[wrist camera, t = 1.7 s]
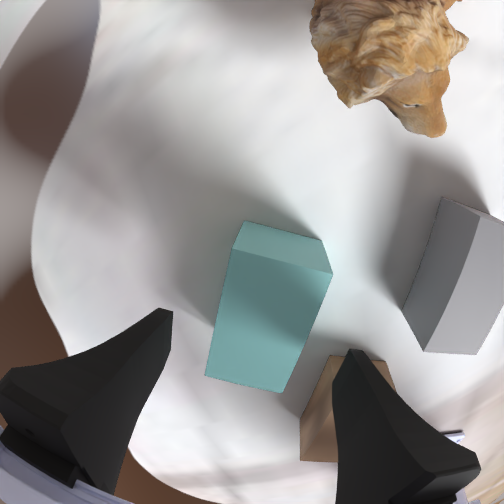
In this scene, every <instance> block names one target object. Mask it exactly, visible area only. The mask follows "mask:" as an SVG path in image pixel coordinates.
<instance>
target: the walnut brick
mask: <svg viewBox="0 0 504 504" xmlns="http://www.w3.org/2000/svg"><path fill="white" fill-rule="evenodd" d="M344 359H345V357H340V356H332V355H330V356H329V359H328V361H327V363H326V365H325V368H324V370H323V372H322V374H321V377H320V379H319V381H318V383H317V385H316V388H315V390H314V392H313V394H312V396H311V398H310V400H309V402H308V404H307V406H306V408H305V411H304V413H303V415H302V417H301V419H300V461H314V462H338V446H337V439H336V431H335V423H334V416H333V408H332V382H333V380H334V378H335V376H336V374H337V372H338V370H339V368H340V366H341V364H342V363H343V361H344ZM371 361H372V363H373V364H374V365H375V367H376V368H377V369H378V370H379V372H380V373H381V374H382V376H383V377H384V378H385V379H386V381H387V382H388V383H389V384H390V386H391V387H392V388H393V389H394V390H395V392H396V389H395V386H394V383H393V380H392V378H391V375H390V372H389V369H388V366H387V364H386V361H376V360H371ZM396 393H397V392H396Z"/></svg>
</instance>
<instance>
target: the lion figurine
mask: <svg viewBox="0 0 504 504" xmlns="http://www.w3.org/2000/svg"><path fill="white" fill-rule="evenodd" d="M455 1H462V0H315V4H314V7H313V9H312V11H311V12H312V16H313V18H312V19H311V20H310V26H309V27H310V32H311V35H312V40H311V43H312V45H313V47H314V48H315V49H316V51H317V52H318V62H319V63H320V65H321V67H322V69H323V73H324V74H325V75H327V76H328V80H329V82H330V83H331V84H332V86H333V87H334V88H335V89H336V90H337V96H338V98H339V99H340V100H341V101H342V102H343V103H344V104H345V105H346V106H347V107H348V108H351V107H352V106H353V105H358V104H361V103H365V102H368V101H370V100H372V99H377V100H380V101H381V102H383V103H384V104H385V105H386V106H387V107H388V109H389V110H390V111H391V112H392V113H393V114H394V115H395V116H396V117H397V118H399V119H400V121H401V123H402V125H403V126H404V127H405V129H407V130H408V131H410V132H412V133H416V134H422V135H426V136H428V137H430V138H435V137H439V136H442V135H443V134H444V133H445V131H446V127H447V122H446V119H445V116H444V112H443V108H442V102H441V97H442V95H443V94H444V93H445V91H446V90H447V87H448V85H449V82H450V76H449V71H448V65H449V64H450V60H451V59H452V58H453V56H455V55H456V54H457V53H458V52H461V51H463V50H464V49H465V48H466V44H468V41H469V38H468V37H467V36H465V35H464V34H463V33H461V32H459V31H457V30H455V29H454V28H453V26H452V25H451V24H450V23H449V21H448V18H447V16H446V14H445V11H446V10H448V9H449V8H450V7H451V6H452V5H453V3H454V2H455Z"/></svg>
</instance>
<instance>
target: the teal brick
mask: <svg viewBox="0 0 504 504" xmlns="http://www.w3.org/2000/svg"><path fill="white" fill-rule="evenodd" d="M332 276H333V272H332V269H331V266H330V263H329V260H328V257H327V254H326V251H325V248H324V246H323V243H322V241H321V240H317V239H313V238H310V237H306V236H302V235H298V234H295V233H291V232H287V231H283V230H279V229H276V228H272V227H268V226H264V225H260V224H256V223H252V222H248V221H244V222H243V224H242V227H241V229H240V231H239V233H238V236H237V238H236V240H235V242H234V244H233V247H232V250H231V254H230V259H229V263H228V268H227V272H226V277H225V281H224V286H223V290H222V295H221V299H220V304H219V309H218V313H217V318H216V323H215V327H214V332H213V337H212V342H211V347H210V351H209V356H208V361H207V366H206V371H205V376H208V377H212V378H216V379H220V380H224V381H228V382H232V383H236V384H240V385H244V386H249V387H253V388H258V389H263V390H267V391H272V392H277V393H283V390H284V388H285V386H286V384H287V382H288V380H289V378H290V376H291V374H292V371H293V369H294V367H295V365H296V363H297V360H298V358H299V356H300V354H301V351H302V349H303V347H304V345H305V342H306V340H307V338H308V335H309V333H310V331H311V328H312V326H313V324H314V321H315V319H316V316H317V314H318V312H319V309H320V307H321V304H322V302H323V299H324V297H325V294H326V292H327V289H328V286H329V284H330V281H331V279H332Z"/></svg>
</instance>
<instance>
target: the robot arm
mask: <svg viewBox="0 0 504 504" xmlns="http://www.w3.org/2000/svg"><path fill="white" fill-rule="evenodd" d="M172 321H173V311H169V310H166V309H162V308H158V309H156V310H154V311H153V312H151V313H150V314H149V315H147V316H146V317H144V318H143V319H141V320H140V321H138V322H137V323H136V324H134V325H132V326H131V327H129V328H128V329H126V330H125V331H123V332H122V333H120V334H118V335H116V336H115V337H113V338H111V339H109V340H108V341H106V342H104V343H102V344H100V345H98V346H96V347H94V348H91V349H89V350H87V351H84V352H82V353H79V354H76V355H73V356H70V357H67V358H64V359H61V360H57V361H53V362H49V363H44V364H39V365H34V366H25V367H16V368H11V369H10V370H9V371H8V373H7V374H6V375H5V376H4V377H3V378H2V379H1V380H0V413H1V414H2V416H3V417H4V419H5V421H6V422H7V423H8V426H7V427H6V428H5V430H4V429H3V428H2V427H1V426H0V499H1V500H3V501H4V502H5V503H7V504H133V503H131V502H128V501H126V500H123V499H120V498H118V497H115V496H114V492H115V487H116V484H117V480H118V476H119V473H120V469H121V466H122V463H123V459H124V456H125V453H126V450H127V447H128V444H129V441H130V438H131V436H132V433H133V430H134V427H135V425H136V422H137V419H138V417H139V415H140V413H141V411H142V408H143V407H144V405H145V403H146V401H147V399H148V397H149V395H150V393H151V392H152V390H153V388H154V386H155V384H156V382H157V380H158V378H159V377H160V375H161V373H162V371H163V369H164V366H165V364H166V361H167V358H168V356H169V353H170V350H171V336H172ZM332 408H333V416H334V423H335V431H336V439H337V446H338V479H337V493H336V502H335V504H481V503H480V500H479V499H477V500H474V501H471V502H469V503H468V500H467V496H466V493H465V489H464V487H465V486H467V485H468V484H469V483H470V482H472V481H473V480H474V479H475V478H476V477H477V476H478V475H479V473H480V471H481V467H480V464H479V461H478V458H477V456H476V453H475V452H473V451H471V450H469V449H467V448H465V447H463V446H461V445H459V444H458V443H459V442H460V441H461V440H462V439H463V438H464V437H465V434H464V433H455V434H446V435H443V434H441V433H440V432H438V431H437V430H436V429H434V428H433V427H432V426H430V425H429V424H428V423H427V422H425V421H424V420H423V419H422V418H421V417H420V416H419V415H418V414H416V413H415V412H414V411H413V410H412V409H411V408H410V407H409V406H408V405H407V404H406V403H405V402H404V401H403V399H402V398H401V397H400V396H399V395H398V394H397V393H396V392H395V390H394V389H393V388H392V387H391V386H390V384H389V383H388V382H387V381H386V379H385V378H384V377H383V376H382V374H381V373H380V372H379V370H378V369H377V368H376V367H375V365H374V364H373V363H372V361H371V360H370V359H369V358H368V356H367V355H366V354H365V353H364V352H363V351H361V350H354V349H349V351H348V353H347V355H346V357H345V359H344V361H343V363H342V364H341V366H340V368H339V370H338V372H337V374H336V376H335V378H334V380H333V382H332Z"/></svg>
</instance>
